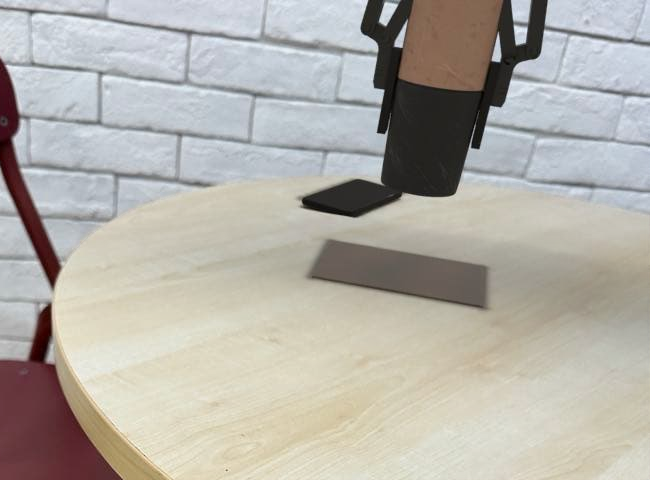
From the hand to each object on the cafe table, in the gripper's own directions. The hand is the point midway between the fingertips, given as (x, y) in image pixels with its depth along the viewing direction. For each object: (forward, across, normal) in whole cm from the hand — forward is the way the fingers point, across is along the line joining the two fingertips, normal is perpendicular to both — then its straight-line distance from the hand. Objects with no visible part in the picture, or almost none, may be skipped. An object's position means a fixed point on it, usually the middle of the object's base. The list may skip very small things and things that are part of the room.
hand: (428, 138), depth 76 cm
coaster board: (+13, 0, 0) cm, 13 cm away
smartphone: (+13, -8, +26) cm, 30 cm away
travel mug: (+4, 0, 0) cm, 4 cm away
